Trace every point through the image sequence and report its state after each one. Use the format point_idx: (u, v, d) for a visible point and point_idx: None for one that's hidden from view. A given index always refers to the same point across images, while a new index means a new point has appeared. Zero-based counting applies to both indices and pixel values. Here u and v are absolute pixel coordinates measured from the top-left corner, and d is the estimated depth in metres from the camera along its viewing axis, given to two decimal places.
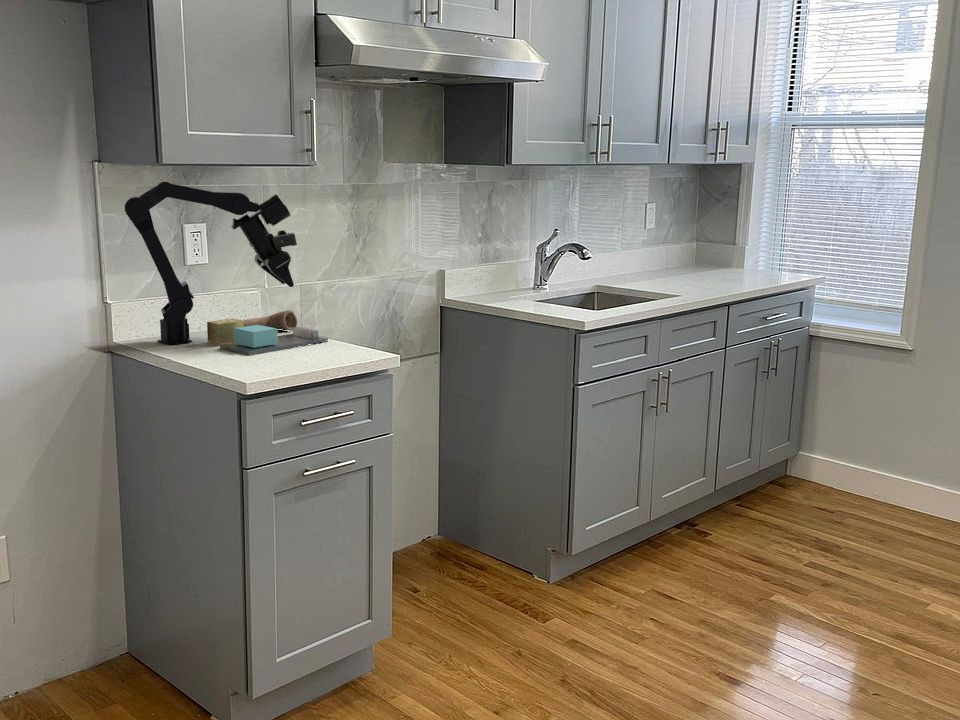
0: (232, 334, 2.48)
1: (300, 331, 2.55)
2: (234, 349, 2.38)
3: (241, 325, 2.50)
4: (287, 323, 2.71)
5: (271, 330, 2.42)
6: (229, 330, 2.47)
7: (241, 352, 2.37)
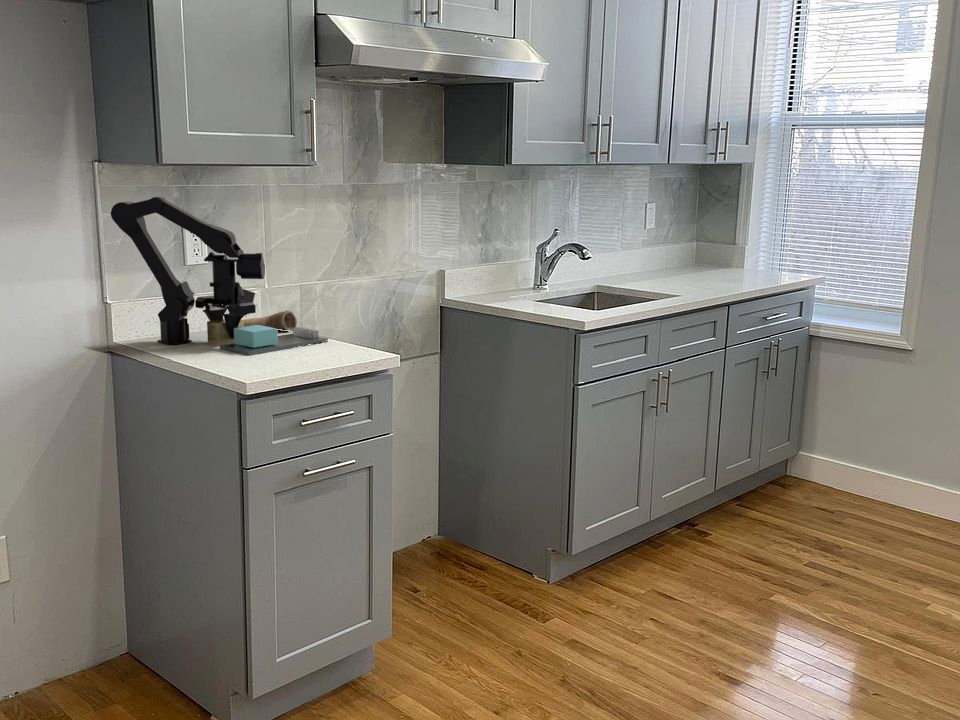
0: None
1: (300, 331, 2.55)
2: (234, 349, 2.38)
3: (241, 325, 2.50)
4: (286, 323, 2.71)
5: (271, 330, 2.42)
6: None
7: (241, 352, 2.37)
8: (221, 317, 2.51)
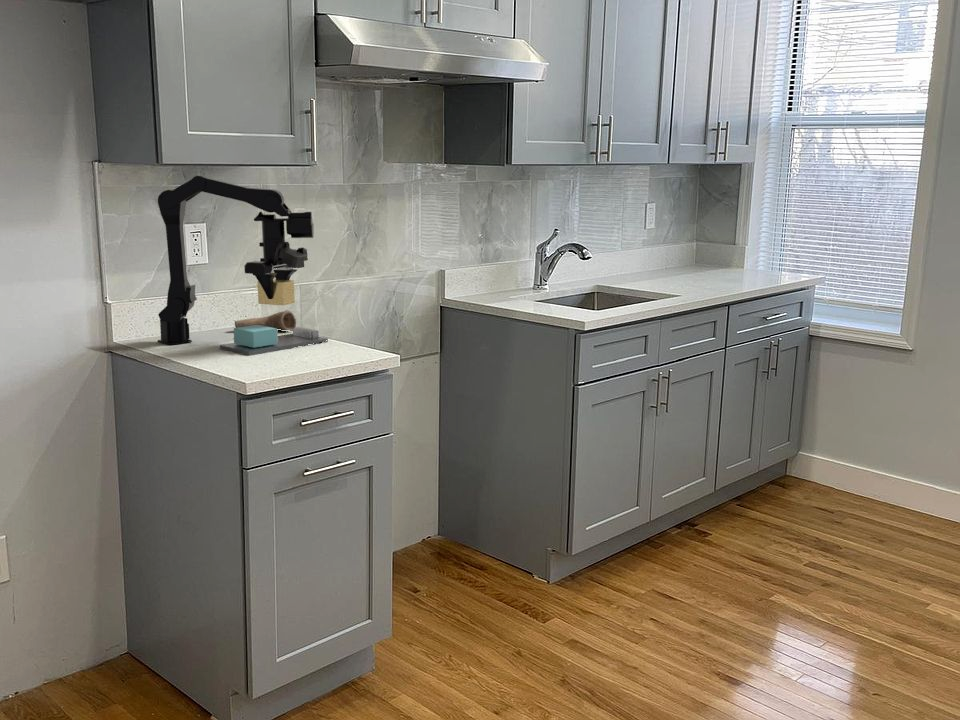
0: None
1: (300, 331, 2.55)
2: (234, 349, 2.38)
3: (279, 287, 2.45)
4: (286, 323, 2.70)
5: (271, 330, 2.42)
6: None
7: (241, 352, 2.37)
8: (285, 278, 2.51)
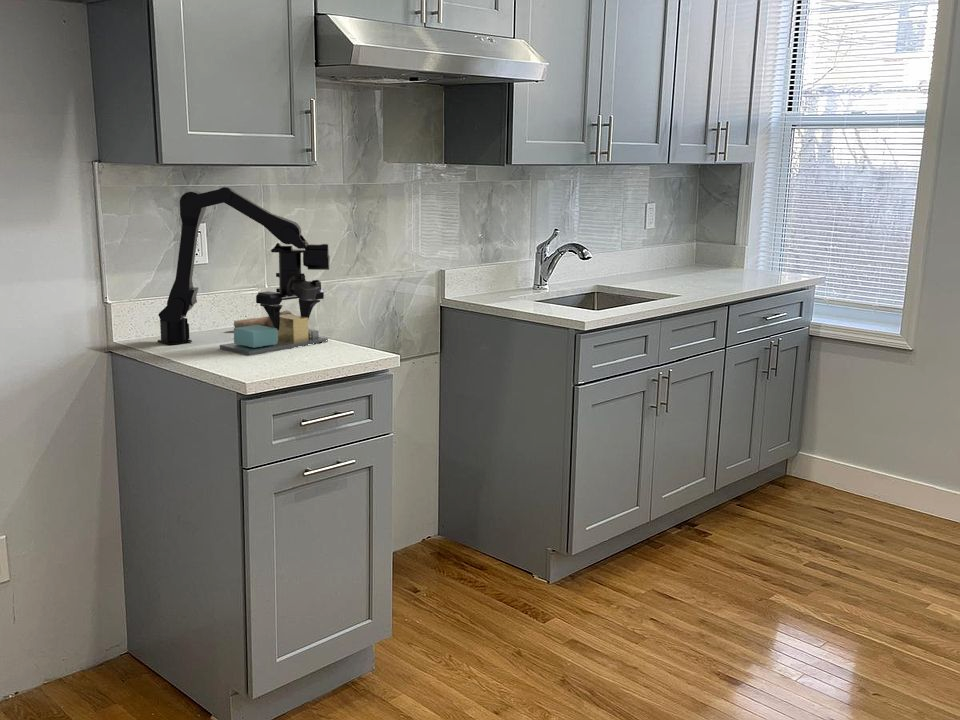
0: (284, 330, 2.50)
1: None
2: (234, 349, 2.38)
3: (291, 324, 2.48)
4: None
5: (271, 330, 2.42)
6: (282, 325, 2.50)
7: (241, 352, 2.37)
8: (307, 308, 2.54)
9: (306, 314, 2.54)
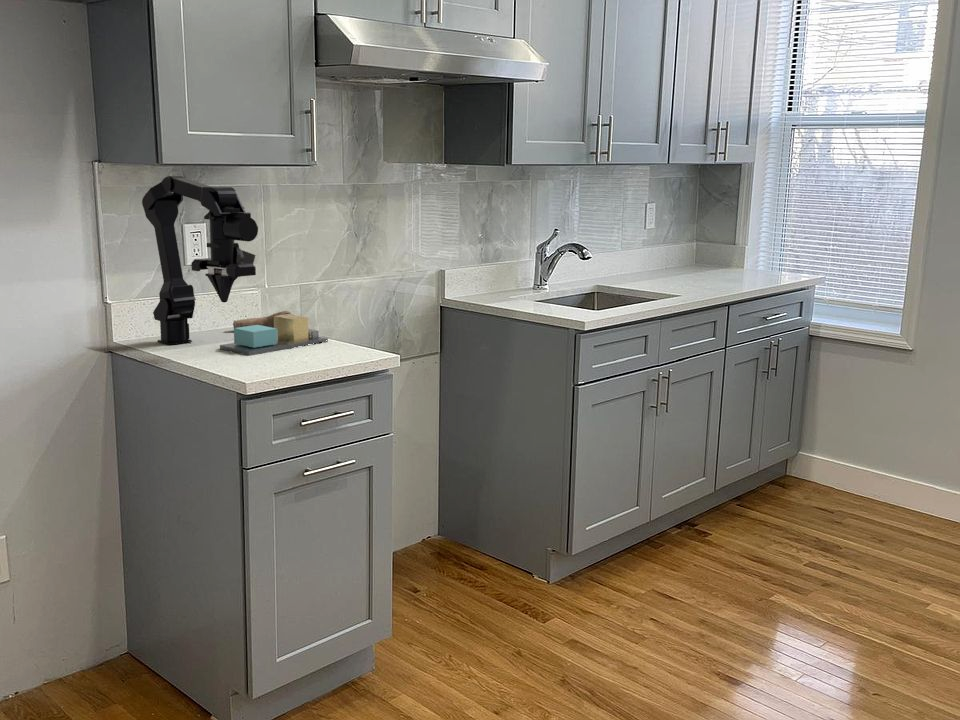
0: (284, 330, 2.50)
1: None
2: (234, 349, 2.38)
3: (291, 324, 2.48)
4: None
5: (271, 330, 2.42)
6: (282, 325, 2.50)
7: (241, 352, 2.37)
8: None
9: None
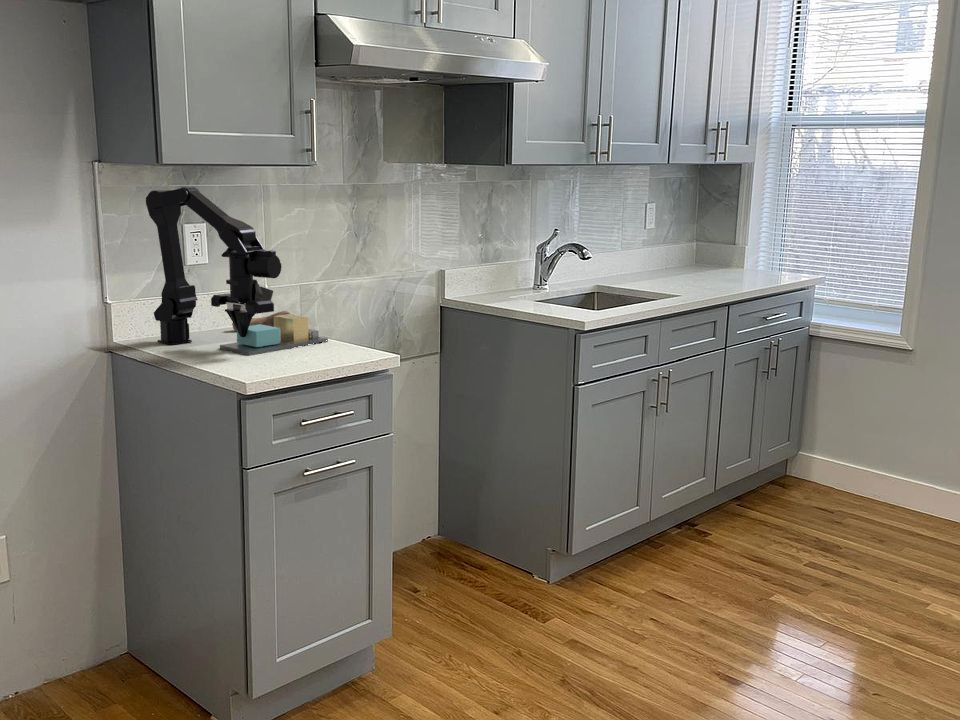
0: (284, 330, 2.50)
1: None
2: (234, 349, 2.38)
3: (291, 324, 2.48)
4: None
5: (274, 330, 2.42)
6: (282, 325, 2.50)
7: (241, 352, 2.37)
8: None
9: None
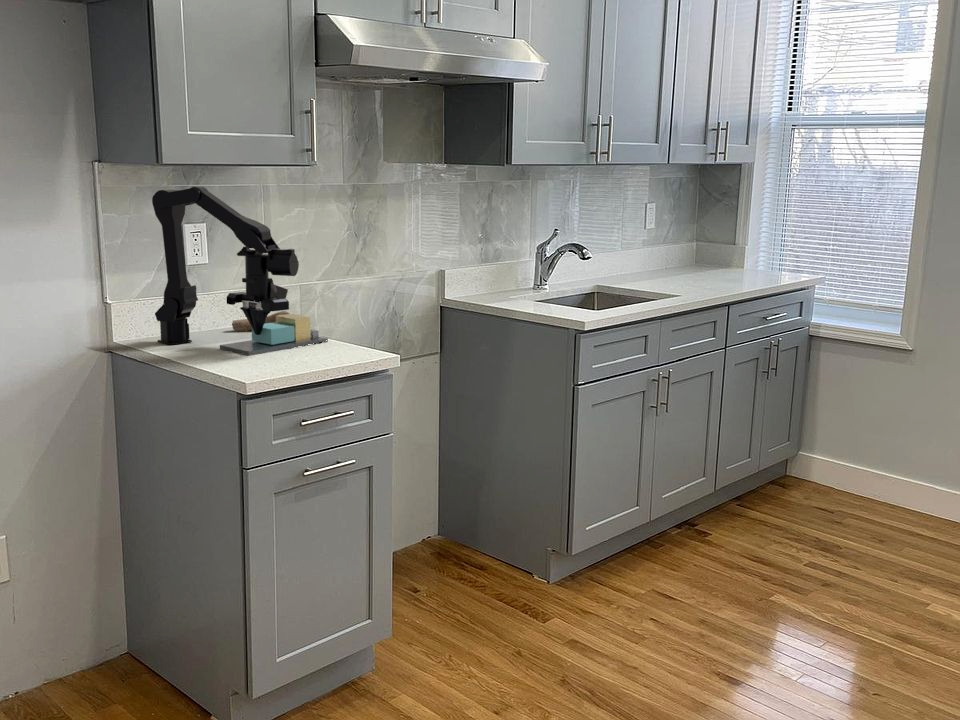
0: None
1: None
2: (234, 349, 2.38)
3: (293, 323, 2.48)
4: None
5: (288, 327, 2.46)
6: None
7: (241, 352, 2.37)
8: None
9: None
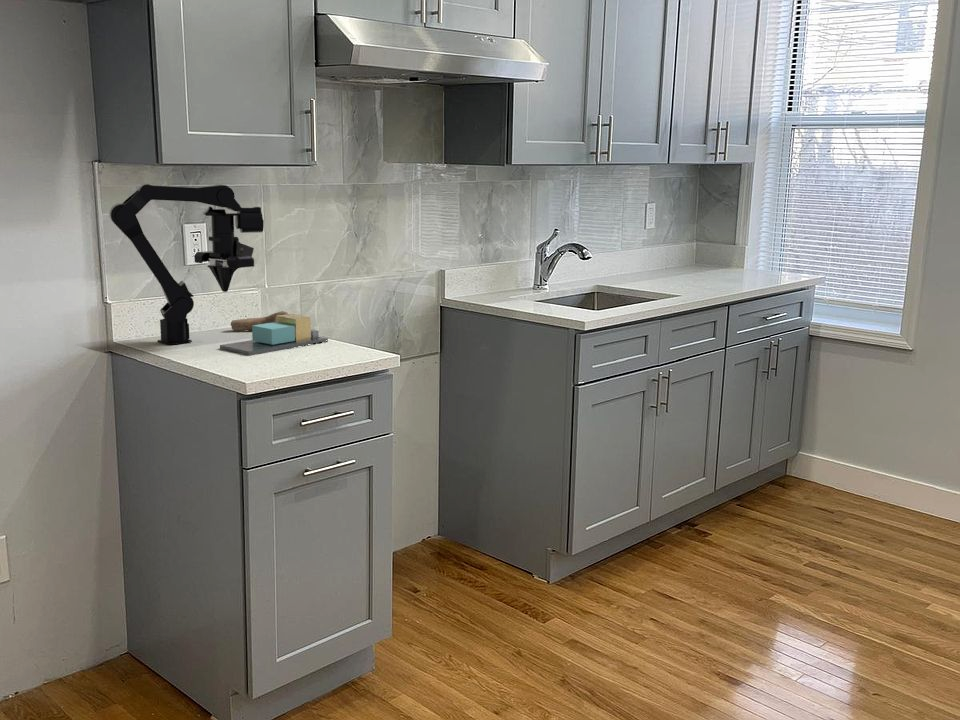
0: None
1: None
2: (234, 349, 2.38)
3: (293, 323, 2.48)
4: None
5: (289, 327, 2.46)
6: None
7: (241, 352, 2.37)
8: None
9: None
